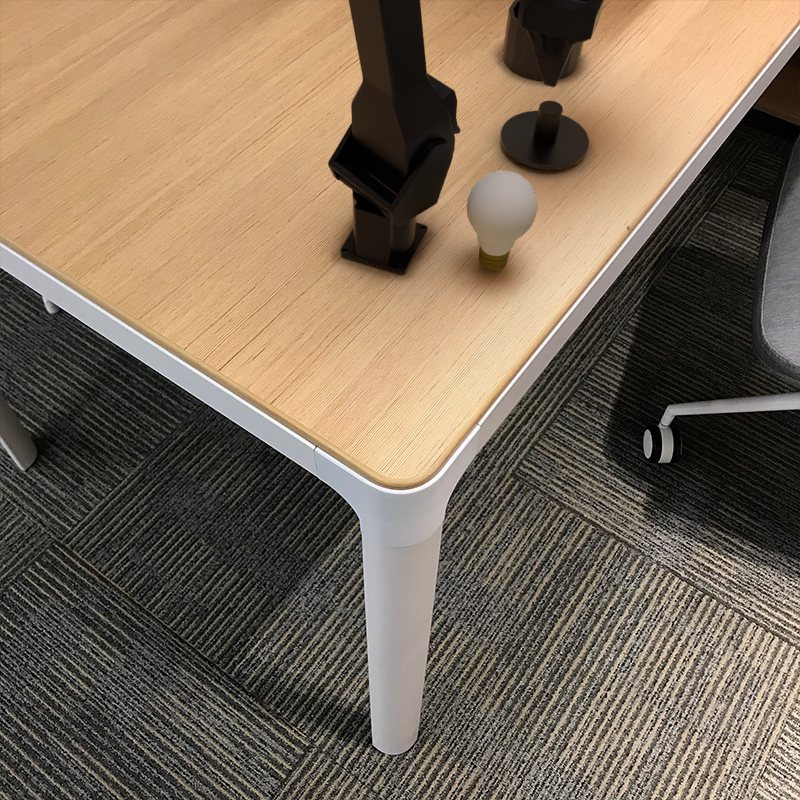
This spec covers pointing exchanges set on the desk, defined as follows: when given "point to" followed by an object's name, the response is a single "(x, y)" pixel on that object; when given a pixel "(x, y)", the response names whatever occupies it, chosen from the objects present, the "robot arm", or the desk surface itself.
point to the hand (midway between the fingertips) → (562, 58)
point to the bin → (529, 50)
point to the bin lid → (545, 138)
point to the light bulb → (500, 215)
